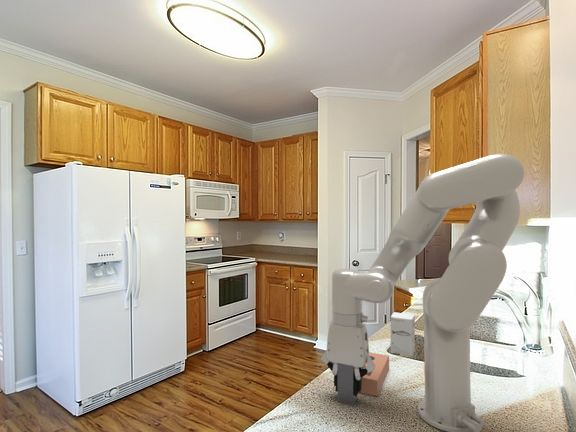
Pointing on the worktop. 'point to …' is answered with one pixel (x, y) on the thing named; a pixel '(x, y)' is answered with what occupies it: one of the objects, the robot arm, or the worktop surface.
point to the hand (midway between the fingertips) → (347, 390)
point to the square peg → (346, 384)
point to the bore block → (375, 374)
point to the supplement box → (403, 333)
